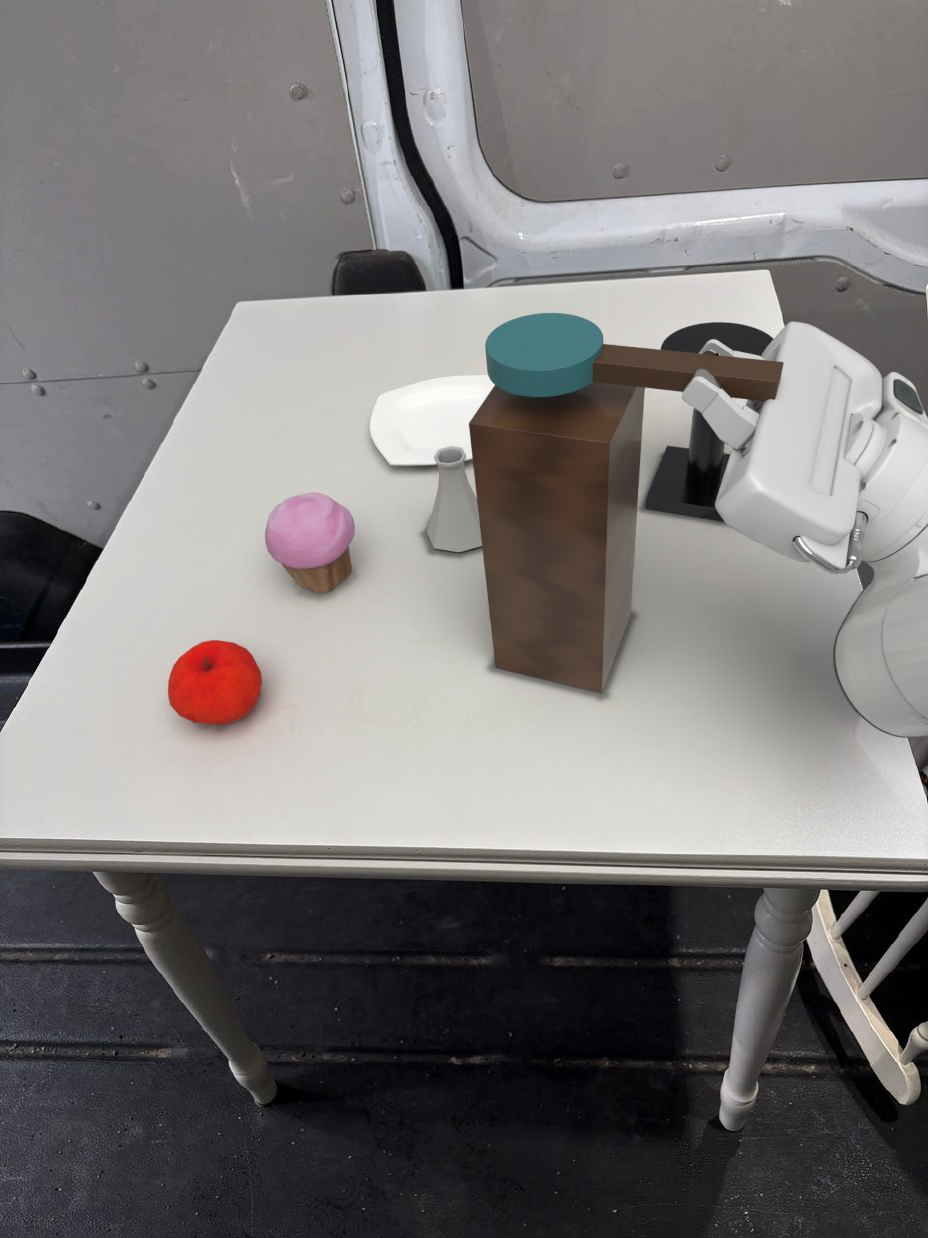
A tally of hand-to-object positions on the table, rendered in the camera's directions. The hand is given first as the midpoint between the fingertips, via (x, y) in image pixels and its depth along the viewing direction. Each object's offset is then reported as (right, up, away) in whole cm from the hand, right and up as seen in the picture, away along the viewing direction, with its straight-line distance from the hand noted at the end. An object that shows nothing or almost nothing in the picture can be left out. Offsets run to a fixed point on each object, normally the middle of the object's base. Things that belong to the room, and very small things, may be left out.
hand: (695, 366), depth 54 cm
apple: (-36, -25, +22) cm, 49 cm away
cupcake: (-30, -12, +33) cm, 46 cm away
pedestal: (-6, -18, +24) cm, 31 cm away
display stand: (+11, -2, +38) cm, 39 cm away
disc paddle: (-4, 0, +2) cm, 5 cm away
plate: (-17, +7, +51) cm, 54 cm away
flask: (-15, -7, +37) cm, 40 cm away
